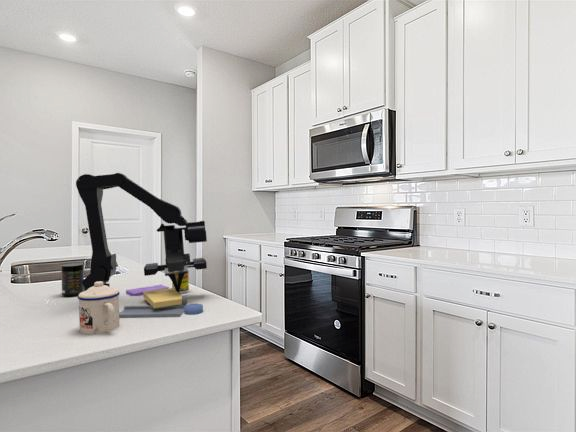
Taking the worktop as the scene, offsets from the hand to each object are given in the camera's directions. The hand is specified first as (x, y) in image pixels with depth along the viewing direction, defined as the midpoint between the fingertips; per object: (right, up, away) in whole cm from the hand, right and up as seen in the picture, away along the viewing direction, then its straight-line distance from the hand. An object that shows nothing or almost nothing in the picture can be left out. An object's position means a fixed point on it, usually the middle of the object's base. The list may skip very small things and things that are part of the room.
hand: (178, 293), depth 119 cm
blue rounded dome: (+9, -3, -15) cm, 18 cm away
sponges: (-14, -3, +11) cm, 18 cm away
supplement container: (-38, -3, +8) cm, 39 cm away
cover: (-2, -1, -6) cm, 7 cm away
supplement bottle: (-2, -2, +11) cm, 12 cm away
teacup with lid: (-10, -3, -29) cm, 31 cm away
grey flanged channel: (-3, -3, -15) cm, 16 cm away
